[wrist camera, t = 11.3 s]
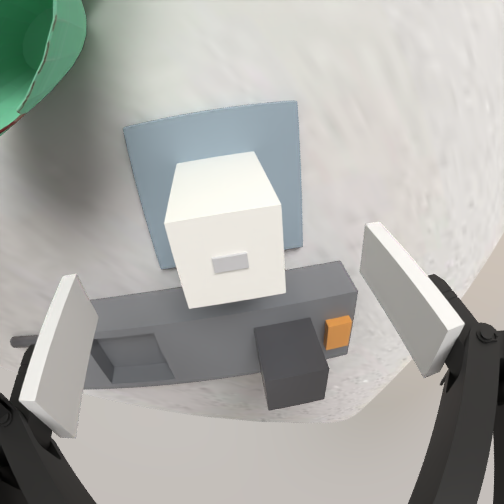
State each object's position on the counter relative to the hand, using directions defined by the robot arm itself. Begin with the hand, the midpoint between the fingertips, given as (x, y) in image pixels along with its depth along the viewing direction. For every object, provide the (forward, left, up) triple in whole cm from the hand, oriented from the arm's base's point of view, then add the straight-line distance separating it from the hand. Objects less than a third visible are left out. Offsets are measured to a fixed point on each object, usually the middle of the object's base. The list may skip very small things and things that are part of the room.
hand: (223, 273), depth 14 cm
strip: (-8, -12, -10) cm, 17 cm away
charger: (0, 0, -9) cm, 9 cm away
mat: (0, 0, -10) cm, 10 cm away
